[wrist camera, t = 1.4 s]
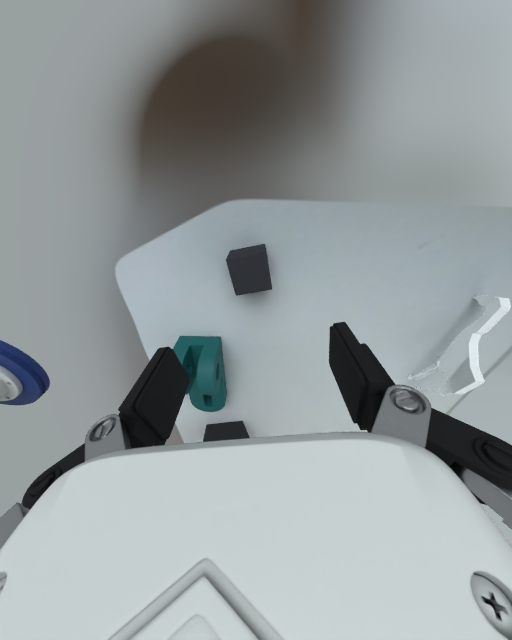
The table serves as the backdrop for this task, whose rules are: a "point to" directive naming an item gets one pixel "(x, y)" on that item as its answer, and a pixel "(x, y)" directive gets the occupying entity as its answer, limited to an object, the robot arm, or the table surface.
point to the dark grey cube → (249, 269)
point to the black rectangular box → (225, 431)
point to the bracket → (203, 370)
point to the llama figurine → (465, 351)
